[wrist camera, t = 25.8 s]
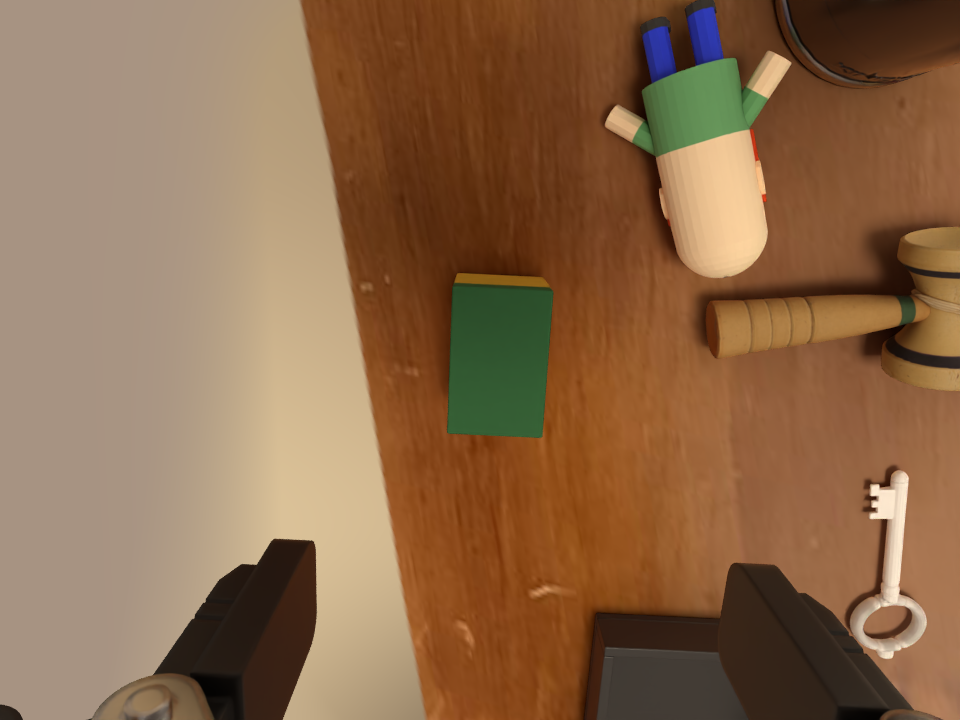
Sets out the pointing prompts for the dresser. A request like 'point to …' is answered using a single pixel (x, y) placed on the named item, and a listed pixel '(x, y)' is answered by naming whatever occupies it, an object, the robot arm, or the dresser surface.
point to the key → (890, 571)
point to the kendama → (864, 316)
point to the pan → (658, 670)
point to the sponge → (499, 355)
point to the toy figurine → (704, 144)
